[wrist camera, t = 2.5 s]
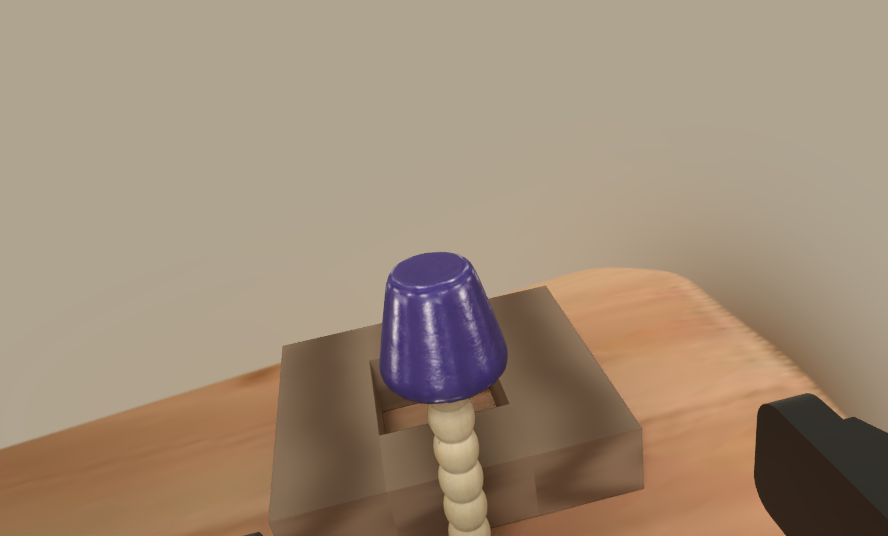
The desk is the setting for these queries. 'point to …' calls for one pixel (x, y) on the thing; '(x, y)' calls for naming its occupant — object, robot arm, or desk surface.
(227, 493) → the desk surface
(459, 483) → the toy lamp
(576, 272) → the desk surface
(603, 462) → the socket block
